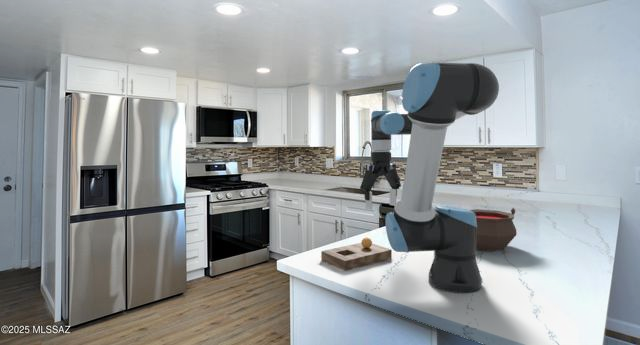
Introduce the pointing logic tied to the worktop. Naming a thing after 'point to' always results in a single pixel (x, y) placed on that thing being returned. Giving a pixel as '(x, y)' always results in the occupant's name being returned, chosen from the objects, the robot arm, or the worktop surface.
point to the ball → (366, 242)
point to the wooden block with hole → (355, 256)
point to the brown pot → (494, 229)
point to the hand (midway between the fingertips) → (381, 207)
